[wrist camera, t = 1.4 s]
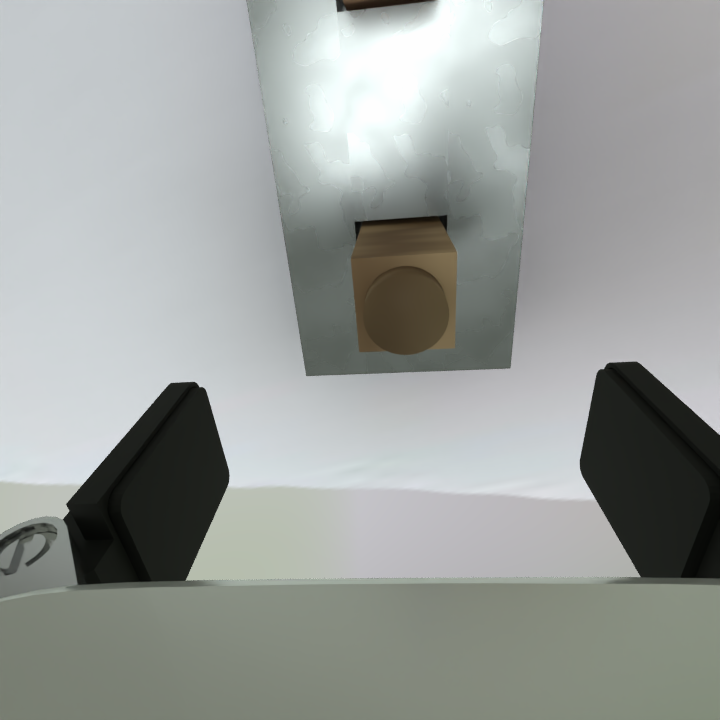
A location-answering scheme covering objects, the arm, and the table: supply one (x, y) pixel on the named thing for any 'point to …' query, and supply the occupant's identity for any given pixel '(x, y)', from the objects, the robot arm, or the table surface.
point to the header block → (400, 157)
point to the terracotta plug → (376, 3)
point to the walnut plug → (404, 286)
